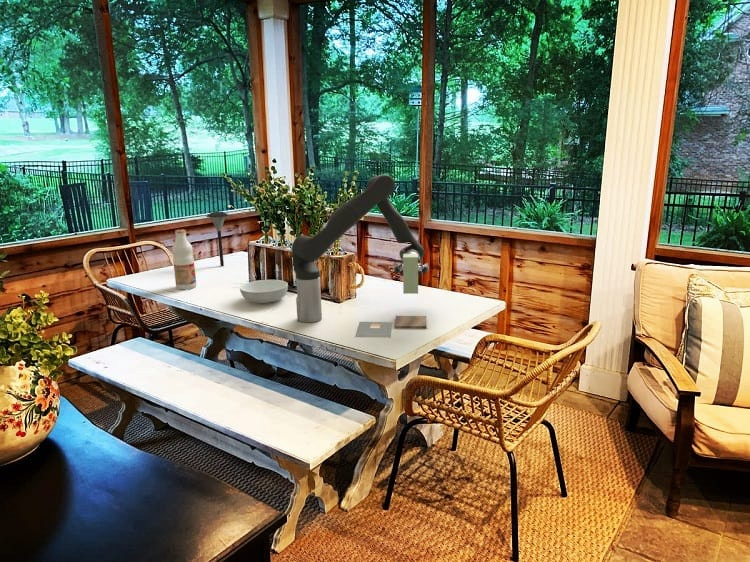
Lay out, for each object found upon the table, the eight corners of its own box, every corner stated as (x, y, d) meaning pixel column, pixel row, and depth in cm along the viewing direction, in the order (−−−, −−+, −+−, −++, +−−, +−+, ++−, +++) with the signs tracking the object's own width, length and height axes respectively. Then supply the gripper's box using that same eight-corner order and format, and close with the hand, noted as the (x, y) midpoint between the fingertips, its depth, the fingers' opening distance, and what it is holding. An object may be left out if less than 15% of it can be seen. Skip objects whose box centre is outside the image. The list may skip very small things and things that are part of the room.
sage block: (403, 293, 213) (403, 257, 209) (403, 289, 218) (403, 253, 215) (418, 293, 213) (418, 257, 209) (418, 289, 218) (418, 253, 214)
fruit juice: (173, 287, 275) (167, 230, 268) (192, 283, 281) (186, 227, 273) (179, 291, 268) (173, 232, 261) (199, 287, 273) (193, 230, 266)
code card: (354, 337, 205) (354, 337, 205) (359, 321, 221) (359, 321, 221) (390, 338, 204) (390, 337, 204) (392, 322, 220) (392, 321, 220)
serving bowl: (267, 291, 266) (266, 276, 264) (298, 298, 253) (297, 284, 251) (231, 301, 250) (229, 286, 249) (262, 310, 237) (260, 294, 236)
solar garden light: (216, 269, 307) (211, 214, 299) (207, 266, 316) (201, 212, 308) (237, 266, 315) (232, 212, 307) (227, 262, 324) (222, 210, 316)
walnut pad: (394, 328, 213) (394, 326, 213) (395, 318, 225) (395, 315, 225) (426, 328, 212) (426, 326, 212) (426, 318, 224) (426, 315, 224)
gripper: (393, 253, 227) (391, 263, 210) (429, 253, 226) (430, 263, 209) (393, 271, 229) (391, 282, 212) (429, 271, 228) (430, 282, 211)
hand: (410, 273), depth 211 cm, fingers closed on sage block, 5 cm apart
